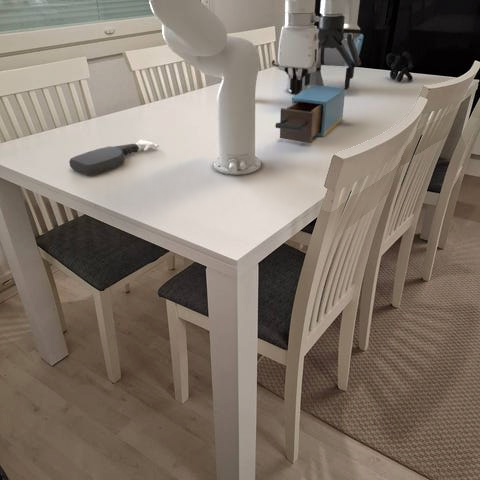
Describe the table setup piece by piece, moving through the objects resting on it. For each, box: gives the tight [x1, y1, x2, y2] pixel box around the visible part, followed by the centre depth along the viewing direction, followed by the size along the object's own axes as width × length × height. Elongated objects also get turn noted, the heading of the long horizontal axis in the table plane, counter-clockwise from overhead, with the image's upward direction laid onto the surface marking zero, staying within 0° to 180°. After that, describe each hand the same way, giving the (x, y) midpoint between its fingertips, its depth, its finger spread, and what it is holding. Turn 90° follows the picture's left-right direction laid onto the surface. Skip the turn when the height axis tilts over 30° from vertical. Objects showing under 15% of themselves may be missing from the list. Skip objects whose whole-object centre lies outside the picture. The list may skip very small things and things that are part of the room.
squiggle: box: [385, 51, 414, 83], centre depth 198 cm, size 11×10×15 cm
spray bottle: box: [68, 139, 160, 177], centre depth 124 cm, size 3×11×24 cm
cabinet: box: [291, 85, 346, 137], centre depth 145 cm, size 19×11×11 cm, turn 151°
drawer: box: [274, 101, 323, 144], centre depth 135 cm, size 24×10×9 cm, turn 151°
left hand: (295, 93), depth 124 cm, fingers closed
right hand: (326, 86), depth 146 cm, fingers open, 13 cm apart
